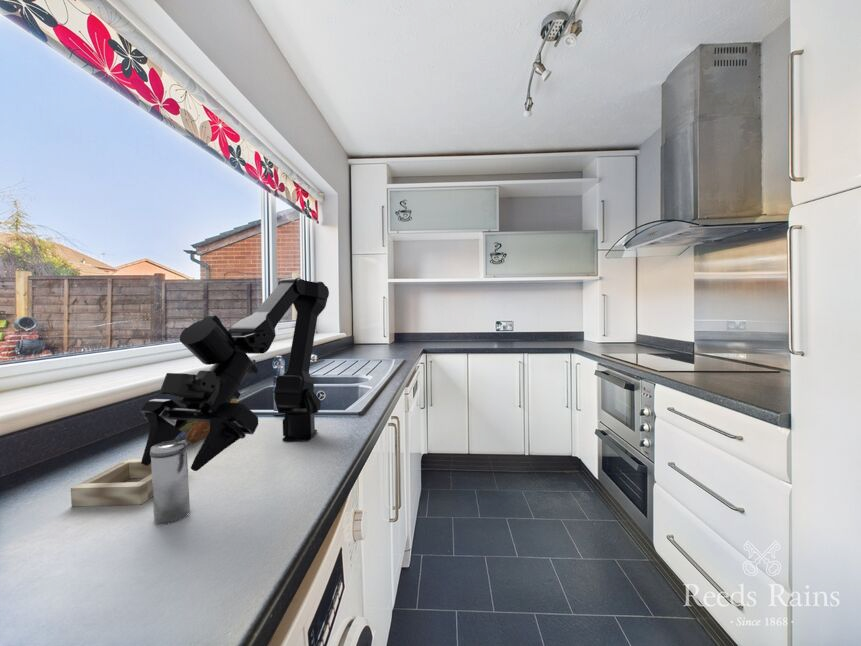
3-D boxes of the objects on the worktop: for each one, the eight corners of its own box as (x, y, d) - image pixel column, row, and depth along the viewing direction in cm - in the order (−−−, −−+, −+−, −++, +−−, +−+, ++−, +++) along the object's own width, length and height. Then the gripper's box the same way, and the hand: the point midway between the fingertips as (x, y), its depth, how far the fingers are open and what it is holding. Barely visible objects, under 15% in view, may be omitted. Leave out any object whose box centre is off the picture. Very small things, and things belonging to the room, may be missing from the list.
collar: (186, 473, 69) (185, 457, 69) (140, 504, 58) (139, 486, 58) (128, 474, 68) (127, 459, 68) (71, 506, 57) (70, 488, 57)
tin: (174, 452, 79) (173, 414, 79) (163, 451, 80) (161, 414, 80) (226, 429, 94) (225, 397, 94) (216, 428, 95) (214, 397, 94)
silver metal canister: (197, 507, 57) (194, 438, 56) (177, 524, 52) (173, 450, 52) (168, 507, 57) (164, 439, 56) (145, 525, 52) (141, 451, 52)
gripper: (149, 351, 60) (74, 439, 50) (243, 353, 56) (183, 449, 46) (191, 388, 68) (135, 470, 58) (277, 391, 64) (232, 480, 54)
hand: (168, 467), depth 54 cm, fingers open, 9 cm apart
